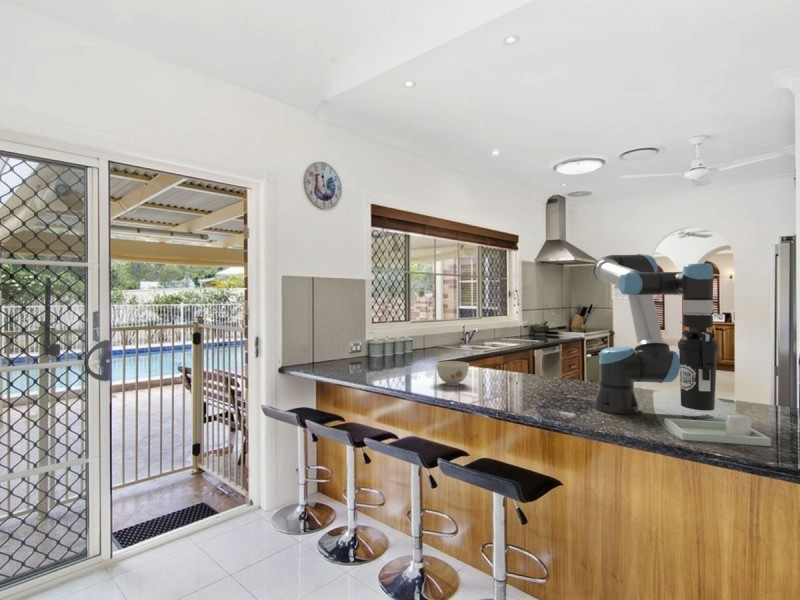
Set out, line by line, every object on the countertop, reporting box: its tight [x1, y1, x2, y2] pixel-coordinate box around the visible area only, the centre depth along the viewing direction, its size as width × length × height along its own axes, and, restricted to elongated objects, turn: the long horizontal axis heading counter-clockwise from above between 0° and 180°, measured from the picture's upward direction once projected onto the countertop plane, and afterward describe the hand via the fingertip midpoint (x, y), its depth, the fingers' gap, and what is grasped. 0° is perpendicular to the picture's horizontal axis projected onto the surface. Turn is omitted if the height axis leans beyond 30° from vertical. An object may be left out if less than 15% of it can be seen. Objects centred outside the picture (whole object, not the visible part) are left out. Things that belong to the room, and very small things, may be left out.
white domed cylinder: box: [725, 413, 752, 436], centre depth 128 cm, size 6×6×6 cm
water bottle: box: [677, 331, 719, 412], centre depth 130 cm, size 10×10×23 cm
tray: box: [663, 417, 772, 447], centre depth 130 cm, size 22×15×3 cm
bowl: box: [435, 360, 470, 387], centre depth 206 cm, size 16×16×10 cm
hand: (697, 387), depth 130 cm, fingers closed on water bottle, 9 cm apart
